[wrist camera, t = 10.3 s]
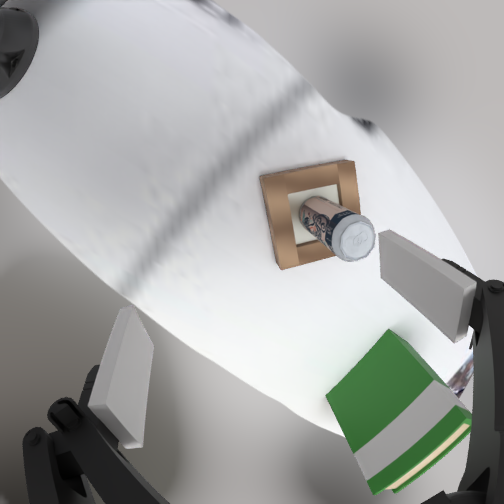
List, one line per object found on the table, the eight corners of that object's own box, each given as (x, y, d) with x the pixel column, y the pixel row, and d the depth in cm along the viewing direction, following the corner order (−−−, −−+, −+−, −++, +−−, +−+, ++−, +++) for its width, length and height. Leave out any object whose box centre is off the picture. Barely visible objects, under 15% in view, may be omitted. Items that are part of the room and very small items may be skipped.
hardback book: (348, 403, 56) (396, 493, 33) (325, 395, 53) (373, 495, 31) (407, 342, 52) (479, 423, 30) (388, 328, 50) (466, 418, 28)
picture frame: (259, 176, 38) (263, 178, 35) (345, 159, 39) (354, 161, 36) (276, 262, 42) (281, 270, 40) (354, 242, 43) (363, 248, 40)
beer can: (291, 209, 38) (327, 236, 27) (321, 187, 38) (367, 206, 27) (310, 238, 40) (349, 274, 29) (338, 217, 40) (386, 246, 28)
